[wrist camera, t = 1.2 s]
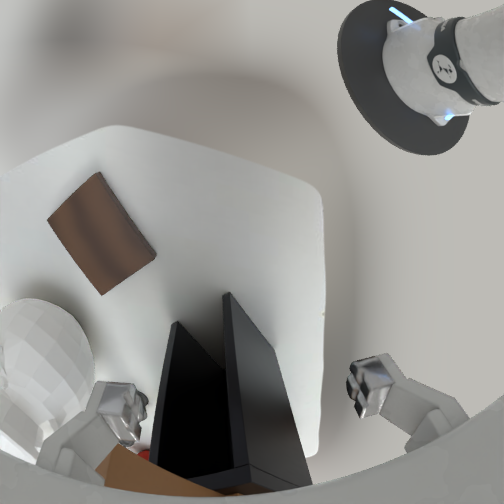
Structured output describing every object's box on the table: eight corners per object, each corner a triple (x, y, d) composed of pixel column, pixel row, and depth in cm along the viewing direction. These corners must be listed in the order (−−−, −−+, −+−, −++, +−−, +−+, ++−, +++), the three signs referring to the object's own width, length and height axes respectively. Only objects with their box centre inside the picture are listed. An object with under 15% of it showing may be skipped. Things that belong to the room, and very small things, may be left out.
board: (99, 171, 29) (95, 173, 28) (156, 254, 34) (154, 259, 33) (52, 217, 30) (46, 220, 29) (105, 290, 35) (101, 296, 34)
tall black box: (229, 291, 37) (251, 481, 13) (274, 350, 42) (318, 503, 18) (171, 324, 38) (144, 497, 14) (221, 376, 43) (233, 523, 19)
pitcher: (105, 289, 35) (23, 434, 12) (115, 378, 41) (82, 500, 18) (11, 268, 32) (-82, 359, 8) (32, 353, 38) (-20, 448, 15)
